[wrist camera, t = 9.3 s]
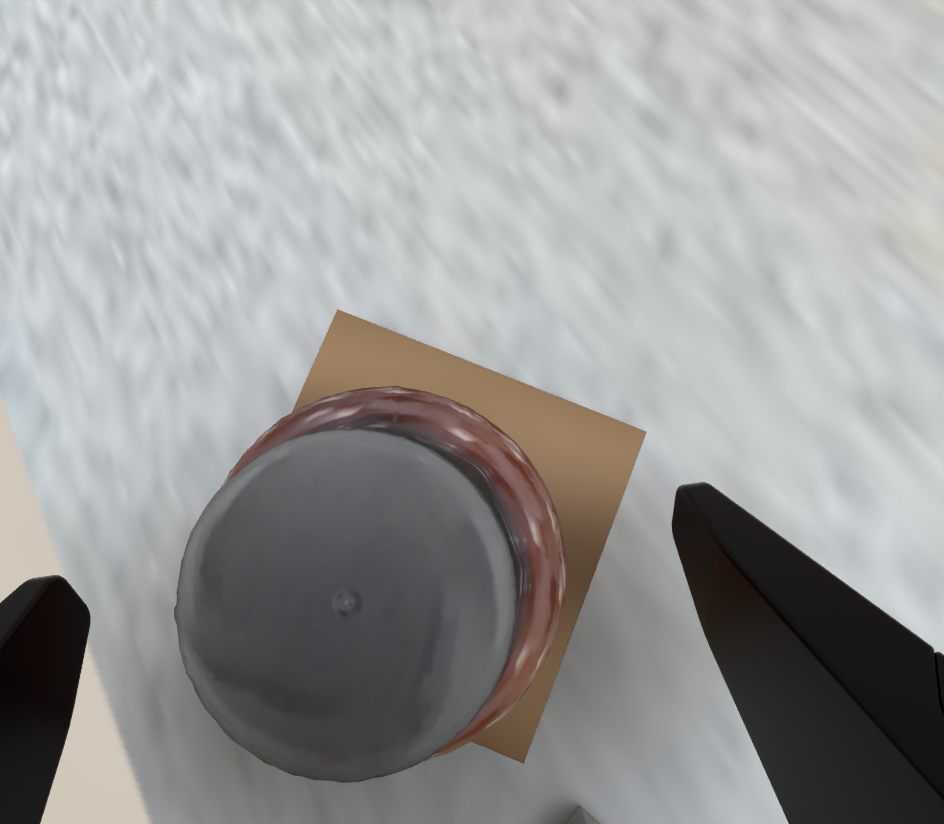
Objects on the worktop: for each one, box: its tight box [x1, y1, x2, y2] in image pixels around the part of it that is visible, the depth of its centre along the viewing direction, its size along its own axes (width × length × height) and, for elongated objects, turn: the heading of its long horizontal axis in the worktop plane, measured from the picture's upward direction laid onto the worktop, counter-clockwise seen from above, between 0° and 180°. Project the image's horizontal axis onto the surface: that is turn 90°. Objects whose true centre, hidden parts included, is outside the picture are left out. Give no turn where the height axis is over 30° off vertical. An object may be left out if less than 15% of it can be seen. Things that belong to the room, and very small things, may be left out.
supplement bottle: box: [174, 386, 567, 782], centre depth 13 cm, size 6×6×11 cm
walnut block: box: [292, 309, 646, 764], centre depth 20 cm, size 10×10×3 cm
